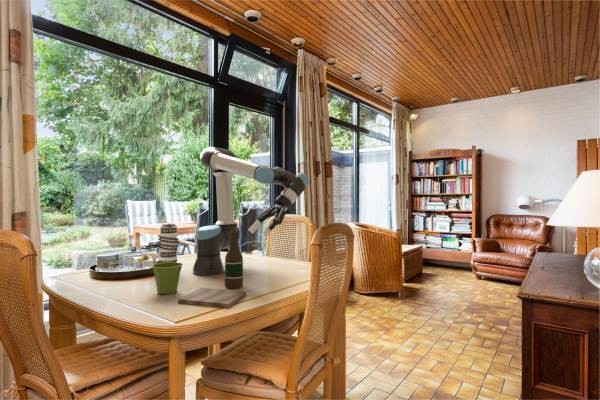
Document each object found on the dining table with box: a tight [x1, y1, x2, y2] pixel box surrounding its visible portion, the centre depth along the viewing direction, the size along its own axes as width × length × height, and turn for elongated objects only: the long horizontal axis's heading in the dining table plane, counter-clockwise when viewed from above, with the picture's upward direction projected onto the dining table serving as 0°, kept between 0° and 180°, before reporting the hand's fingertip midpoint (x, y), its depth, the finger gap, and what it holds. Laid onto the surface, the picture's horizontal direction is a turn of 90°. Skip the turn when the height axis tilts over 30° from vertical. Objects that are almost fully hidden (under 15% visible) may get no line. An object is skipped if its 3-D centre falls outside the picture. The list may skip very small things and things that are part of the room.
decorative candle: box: [158, 222, 179, 263], centre depth 169 cm, size 9×9×25 cm
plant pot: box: [151, 261, 184, 296], centre depth 137 cm, size 12×12×11 cm
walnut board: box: [177, 287, 247, 309], centre depth 129 cm, size 20×16×2 cm
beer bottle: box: [224, 231, 244, 290], centre depth 146 cm, size 8×8×24 cm
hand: (257, 233), depth 152 cm, fingers open, 13 cm apart
